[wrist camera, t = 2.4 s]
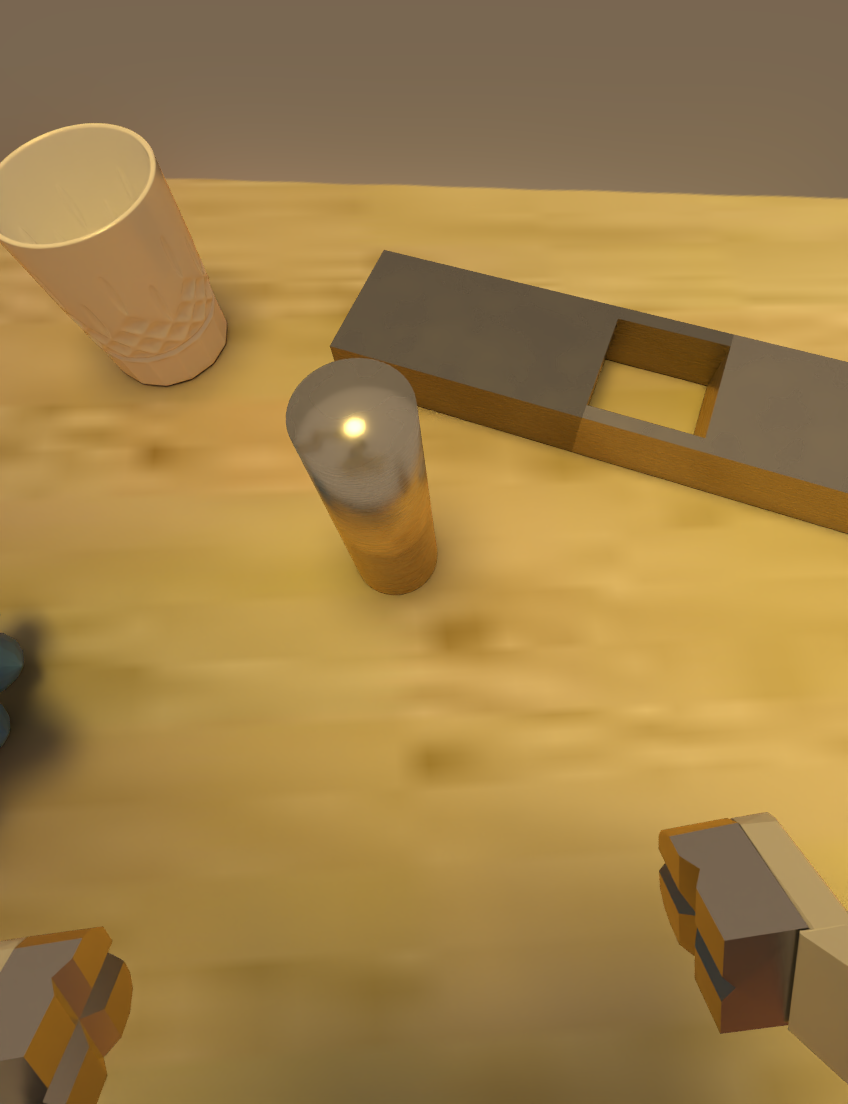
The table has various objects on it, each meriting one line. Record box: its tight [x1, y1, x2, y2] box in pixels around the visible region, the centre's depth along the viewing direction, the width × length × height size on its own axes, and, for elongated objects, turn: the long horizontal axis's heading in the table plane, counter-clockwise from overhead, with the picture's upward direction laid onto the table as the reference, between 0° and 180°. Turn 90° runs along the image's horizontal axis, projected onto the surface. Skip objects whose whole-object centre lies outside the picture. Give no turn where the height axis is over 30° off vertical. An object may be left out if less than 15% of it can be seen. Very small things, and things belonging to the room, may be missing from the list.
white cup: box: [0, 123, 227, 386], centre depth 30 cm, size 8×8×10 cm
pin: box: [286, 358, 437, 595], centre depth 23 cm, size 4×4×12 cm
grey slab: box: [330, 250, 848, 534], centre depth 29 cm, size 32×7×3 cm, turn 68°
